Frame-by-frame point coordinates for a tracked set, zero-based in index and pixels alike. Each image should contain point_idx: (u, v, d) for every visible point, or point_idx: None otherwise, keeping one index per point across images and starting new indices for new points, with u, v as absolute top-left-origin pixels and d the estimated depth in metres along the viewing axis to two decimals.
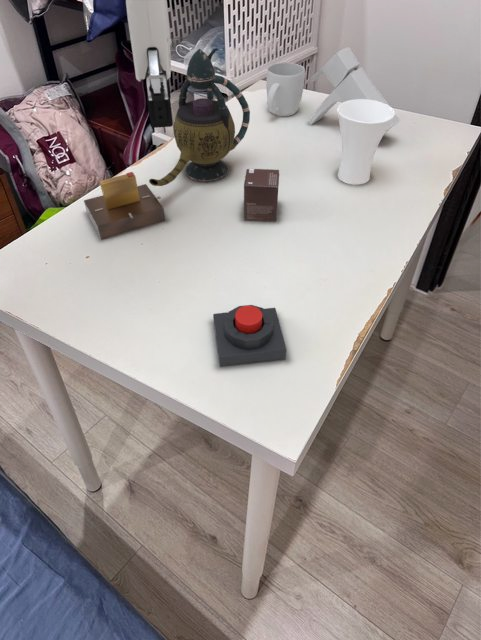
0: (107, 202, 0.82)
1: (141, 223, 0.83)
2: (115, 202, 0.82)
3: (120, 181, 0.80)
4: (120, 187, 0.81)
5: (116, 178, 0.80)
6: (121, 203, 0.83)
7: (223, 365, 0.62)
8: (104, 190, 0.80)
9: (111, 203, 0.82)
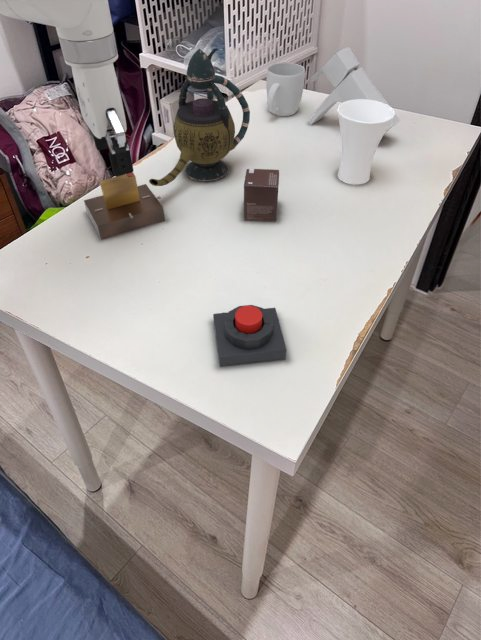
0: (107, 202, 0.82)
1: (141, 223, 0.83)
2: (115, 202, 0.82)
3: (120, 181, 0.80)
4: (120, 187, 0.81)
5: (116, 178, 0.80)
6: (121, 203, 0.83)
7: (223, 365, 0.62)
8: (104, 190, 0.80)
9: (111, 203, 0.82)
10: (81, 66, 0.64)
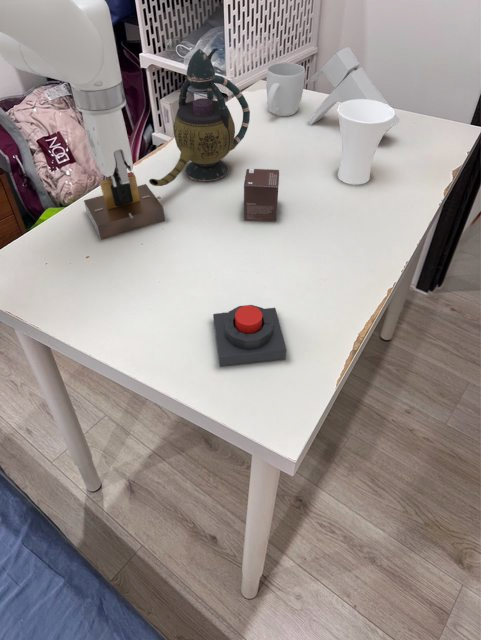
0: (107, 202, 0.82)
1: (141, 223, 0.83)
2: None
3: None
4: None
5: None
6: None
7: (223, 365, 0.62)
8: (104, 190, 0.80)
9: (111, 203, 0.82)
10: (91, 112, 0.68)
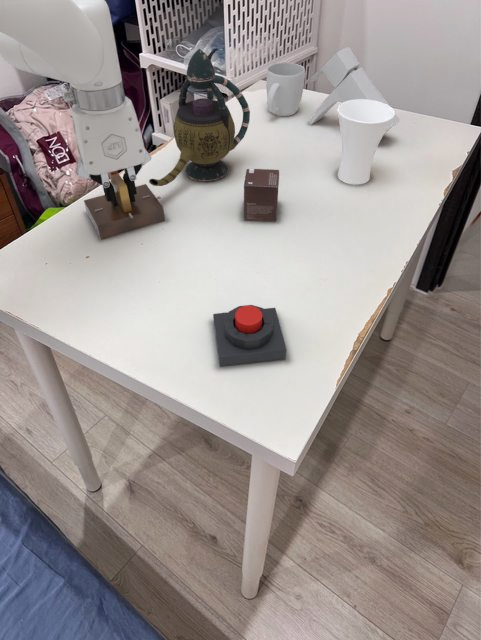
0: None
1: (141, 223, 0.83)
2: None
3: (121, 178, 0.81)
4: None
5: (117, 178, 0.80)
6: None
7: (223, 365, 0.62)
8: (127, 191, 0.80)
9: None
10: (124, 103, 0.70)
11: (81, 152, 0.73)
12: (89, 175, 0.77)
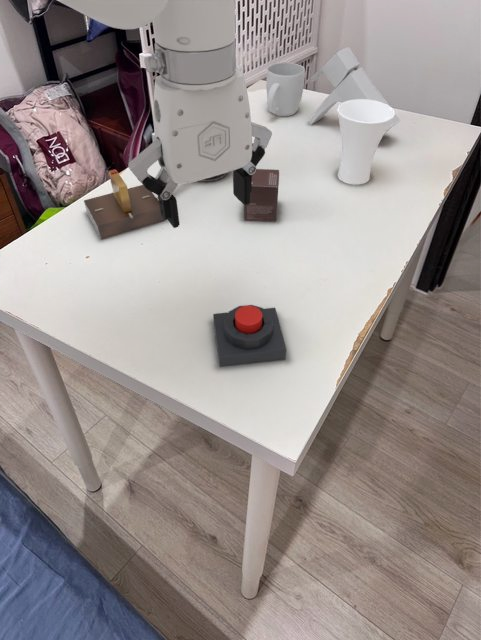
0: None
1: (141, 223, 0.83)
2: None
3: (121, 178, 0.81)
4: None
5: (117, 178, 0.80)
6: None
7: (223, 365, 0.62)
8: (127, 191, 0.80)
9: None
10: (235, 74, 0.46)
11: (166, 150, 0.48)
12: (142, 181, 0.50)
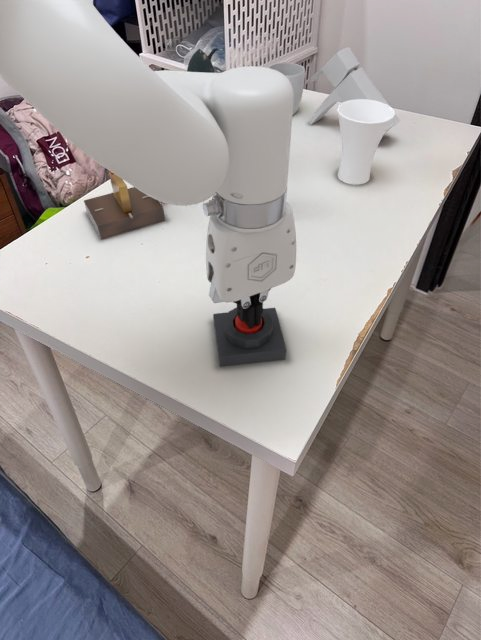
0: None
1: (141, 223, 0.83)
2: None
3: None
4: None
5: (117, 178, 0.80)
6: None
7: (223, 365, 0.62)
8: (127, 191, 0.80)
9: None
10: (285, 212, 0.49)
11: (218, 277, 0.51)
12: None
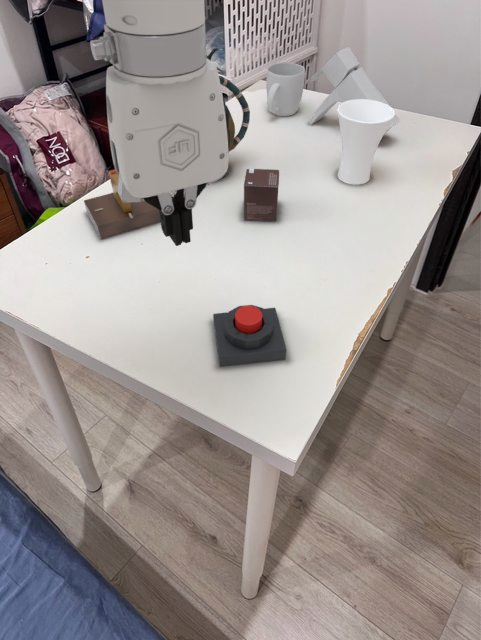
0: None
1: (141, 223, 0.83)
2: None
3: None
4: None
5: (117, 178, 0.80)
6: None
7: (223, 365, 0.62)
8: None
9: None
10: (205, 67, 0.37)
11: (120, 157, 0.39)
12: None
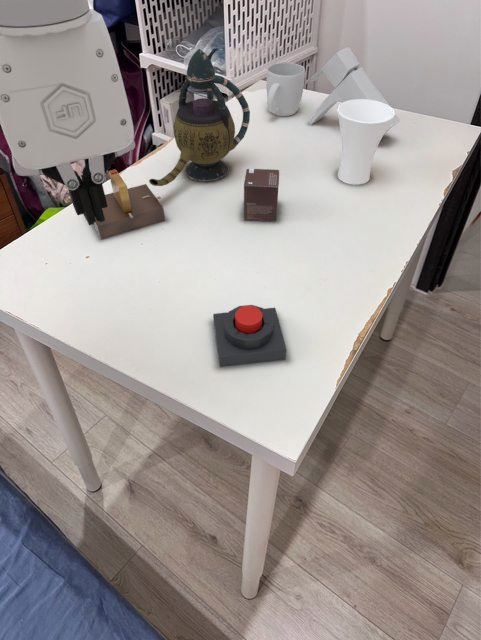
0: None
1: (141, 223, 0.83)
2: None
3: (121, 178, 0.81)
4: None
5: (117, 178, 0.80)
6: None
7: (223, 365, 0.62)
8: (127, 191, 0.80)
9: None
10: (86, 18, 0.33)
11: (1, 122, 0.36)
12: None
